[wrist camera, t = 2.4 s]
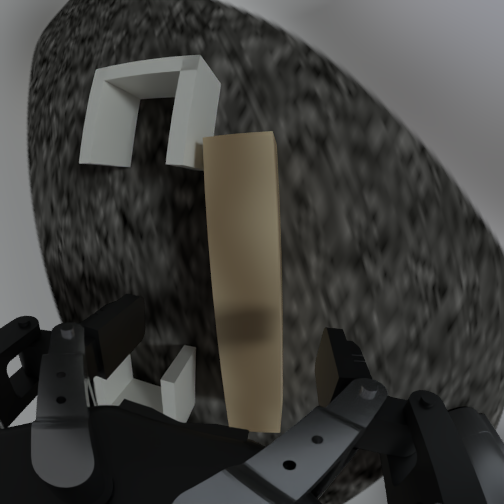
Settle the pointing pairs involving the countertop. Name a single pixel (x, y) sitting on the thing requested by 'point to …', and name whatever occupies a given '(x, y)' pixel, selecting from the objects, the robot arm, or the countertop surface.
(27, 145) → the countertop surface
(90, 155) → the end cap
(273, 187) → the oak bar
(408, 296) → the countertop surface
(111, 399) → the end cap
